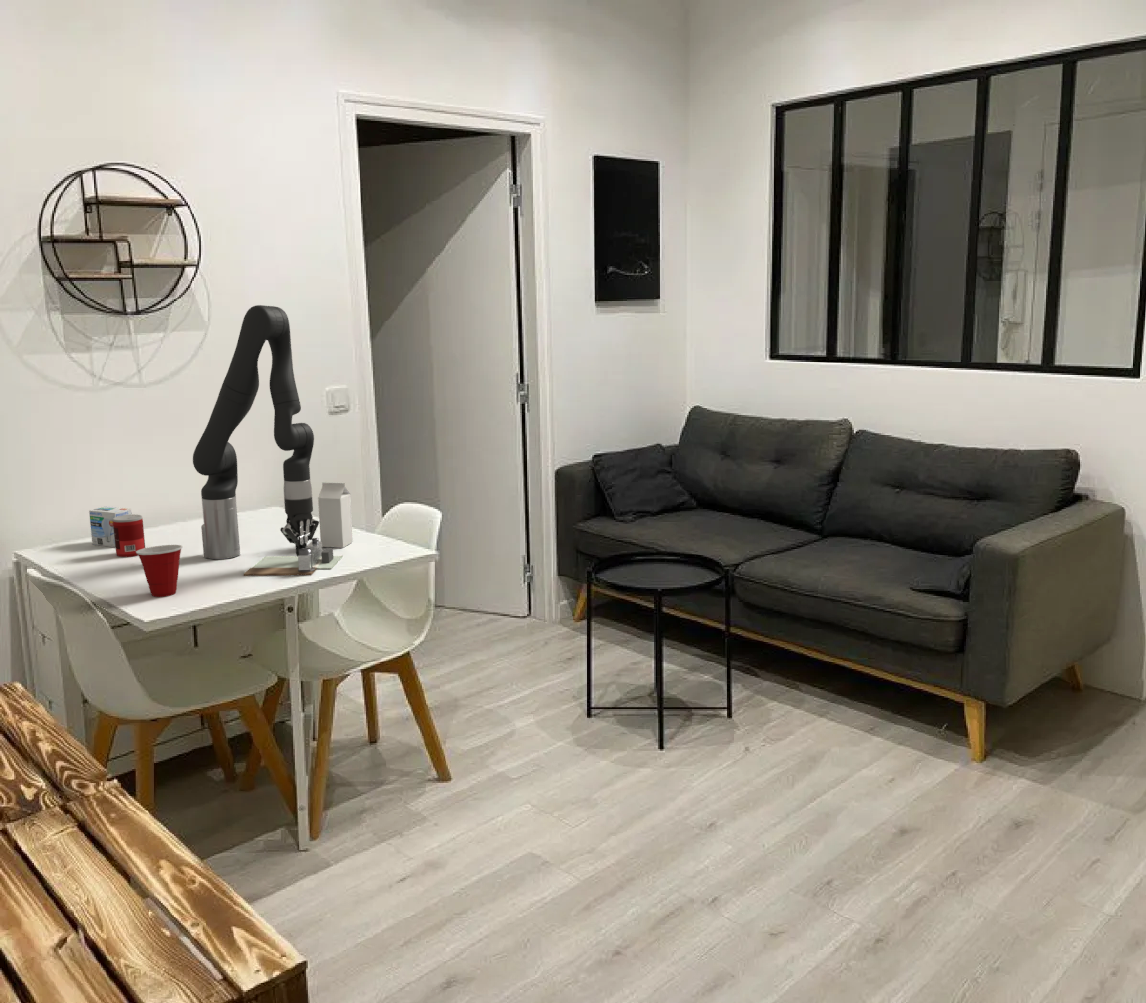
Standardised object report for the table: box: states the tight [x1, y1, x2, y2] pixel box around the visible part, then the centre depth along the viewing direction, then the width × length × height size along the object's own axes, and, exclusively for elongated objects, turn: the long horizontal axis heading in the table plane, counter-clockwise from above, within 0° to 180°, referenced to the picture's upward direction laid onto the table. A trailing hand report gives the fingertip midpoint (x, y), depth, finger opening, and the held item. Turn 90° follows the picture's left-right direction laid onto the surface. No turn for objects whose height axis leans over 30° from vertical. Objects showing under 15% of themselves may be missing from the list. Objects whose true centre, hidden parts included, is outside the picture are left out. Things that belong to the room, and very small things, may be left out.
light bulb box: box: [88, 506, 133, 548], centre depth 303 cm, size 11×7×11 cm, turn 68°
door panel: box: [251, 555, 343, 570], centre depth 279 cm, size 22×13×1 cm, turn 90°
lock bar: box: [298, 537, 324, 570], centre depth 275 cm, size 16×3×5 cm, turn 2°
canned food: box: [113, 514, 146, 558], centre depth 291 cm, size 8×8×11 cm
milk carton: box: [317, 481, 354, 549], centre depth 298 cm, size 7×7×19 cm
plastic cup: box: [136, 544, 183, 598], centre depth 250 cm, size 11×11×12 cm
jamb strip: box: [243, 567, 318, 577], centre depth 270 cm, size 18×6×1 cm, turn 90°
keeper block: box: [321, 547, 334, 563], centre depth 280 cm, size 2×5×4 cm, turn 0°
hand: (301, 556), depth 279 cm, fingers closed
